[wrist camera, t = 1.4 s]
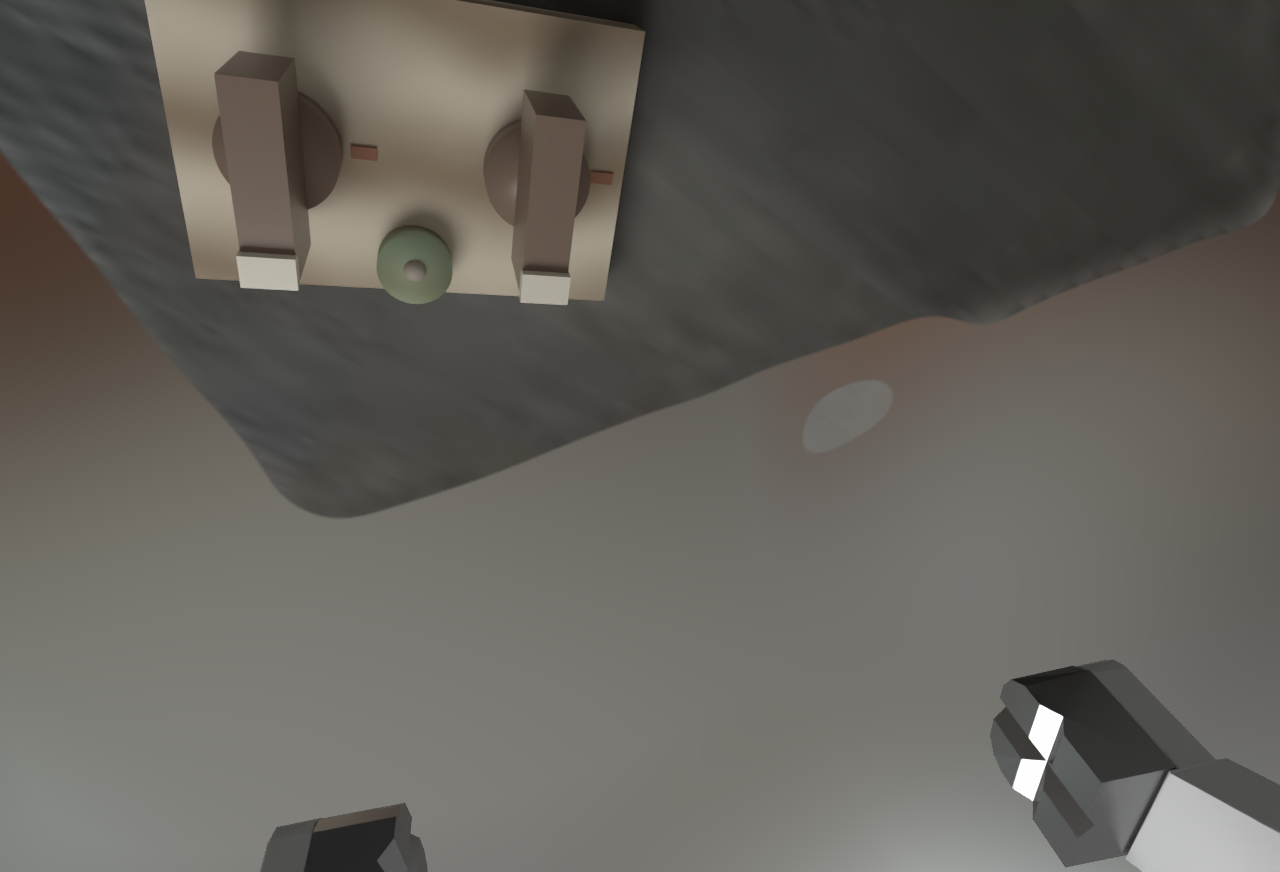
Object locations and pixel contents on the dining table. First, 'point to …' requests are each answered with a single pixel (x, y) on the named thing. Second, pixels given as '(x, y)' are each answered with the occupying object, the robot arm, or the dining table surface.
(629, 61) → the control panel
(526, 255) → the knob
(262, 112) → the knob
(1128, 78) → the dining table surface
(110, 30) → the dining table surface
